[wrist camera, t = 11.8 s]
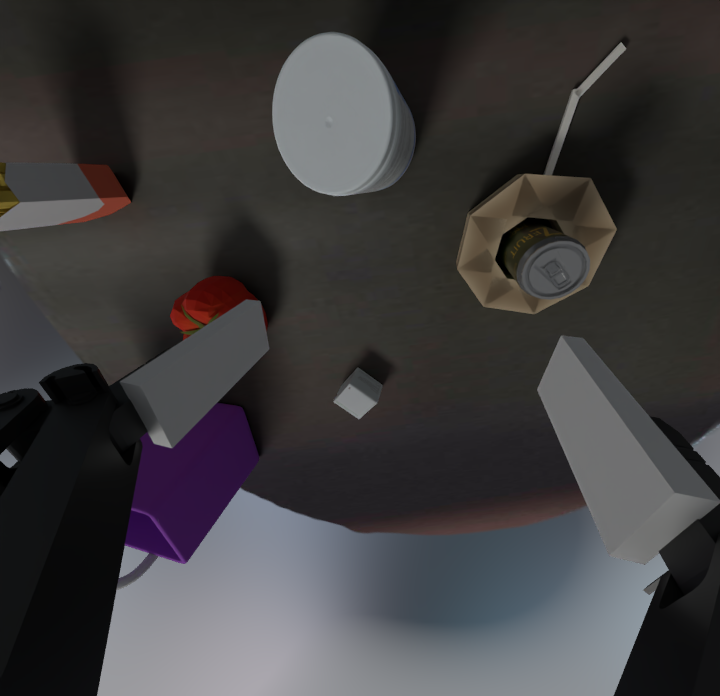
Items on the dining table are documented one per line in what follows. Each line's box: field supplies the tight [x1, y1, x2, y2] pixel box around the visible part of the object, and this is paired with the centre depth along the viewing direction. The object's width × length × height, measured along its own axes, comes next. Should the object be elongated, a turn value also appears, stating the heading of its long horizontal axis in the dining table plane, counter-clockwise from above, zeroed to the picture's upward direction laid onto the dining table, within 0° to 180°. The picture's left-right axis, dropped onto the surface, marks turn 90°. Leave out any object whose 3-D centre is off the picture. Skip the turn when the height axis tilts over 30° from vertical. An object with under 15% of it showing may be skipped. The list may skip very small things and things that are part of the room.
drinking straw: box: [543, 42, 626, 175], centre depth 27 cm, size 10×3×1 cm, turn 176°
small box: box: [334, 367, 383, 419], centre depth 49 cm, size 6×6×5 cm
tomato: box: [170, 276, 268, 340], centre depth 44 cm, size 14×13×10 cm
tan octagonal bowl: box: [456, 174, 617, 314], centre depth 32 cm, size 14×14×4 cm
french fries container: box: [0, 163, 131, 231], centre depth 37 cm, size 5×11×18 cm, turn 109°
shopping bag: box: [116, 403, 259, 590], centre depth 56 cm, size 28×22×30 cm
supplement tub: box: [272, 32, 416, 196], centre depth 26 cm, size 10×10×15 cm
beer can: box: [498, 221, 590, 300], centre depth 29 cm, size 5×5×12 cm
